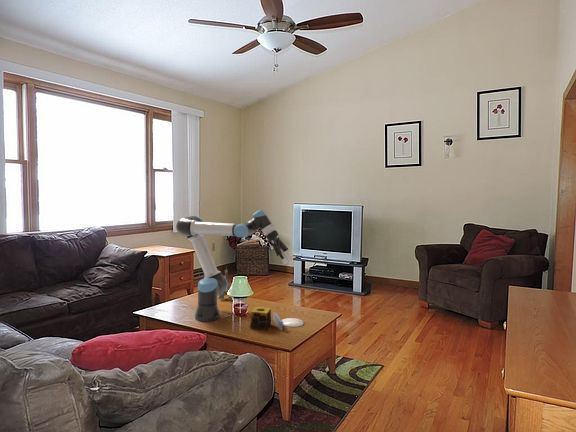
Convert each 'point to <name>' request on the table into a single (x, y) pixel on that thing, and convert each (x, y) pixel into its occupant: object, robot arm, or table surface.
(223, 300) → the eiffel tower
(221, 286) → the robot arm
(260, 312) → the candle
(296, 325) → the coaster
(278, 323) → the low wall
